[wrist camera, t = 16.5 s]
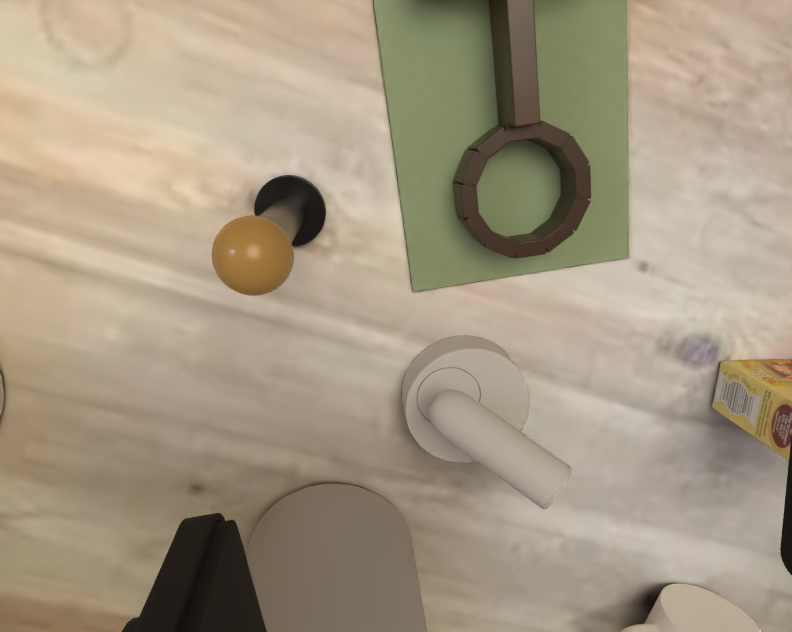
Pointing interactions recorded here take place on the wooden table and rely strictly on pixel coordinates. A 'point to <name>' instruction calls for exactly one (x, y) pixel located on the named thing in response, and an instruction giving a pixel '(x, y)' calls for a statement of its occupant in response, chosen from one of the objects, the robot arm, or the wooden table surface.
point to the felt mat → (477, 113)
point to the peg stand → (268, 236)
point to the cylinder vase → (335, 564)
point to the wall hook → (479, 415)
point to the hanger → (519, 123)
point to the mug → (693, 613)
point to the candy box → (758, 399)
